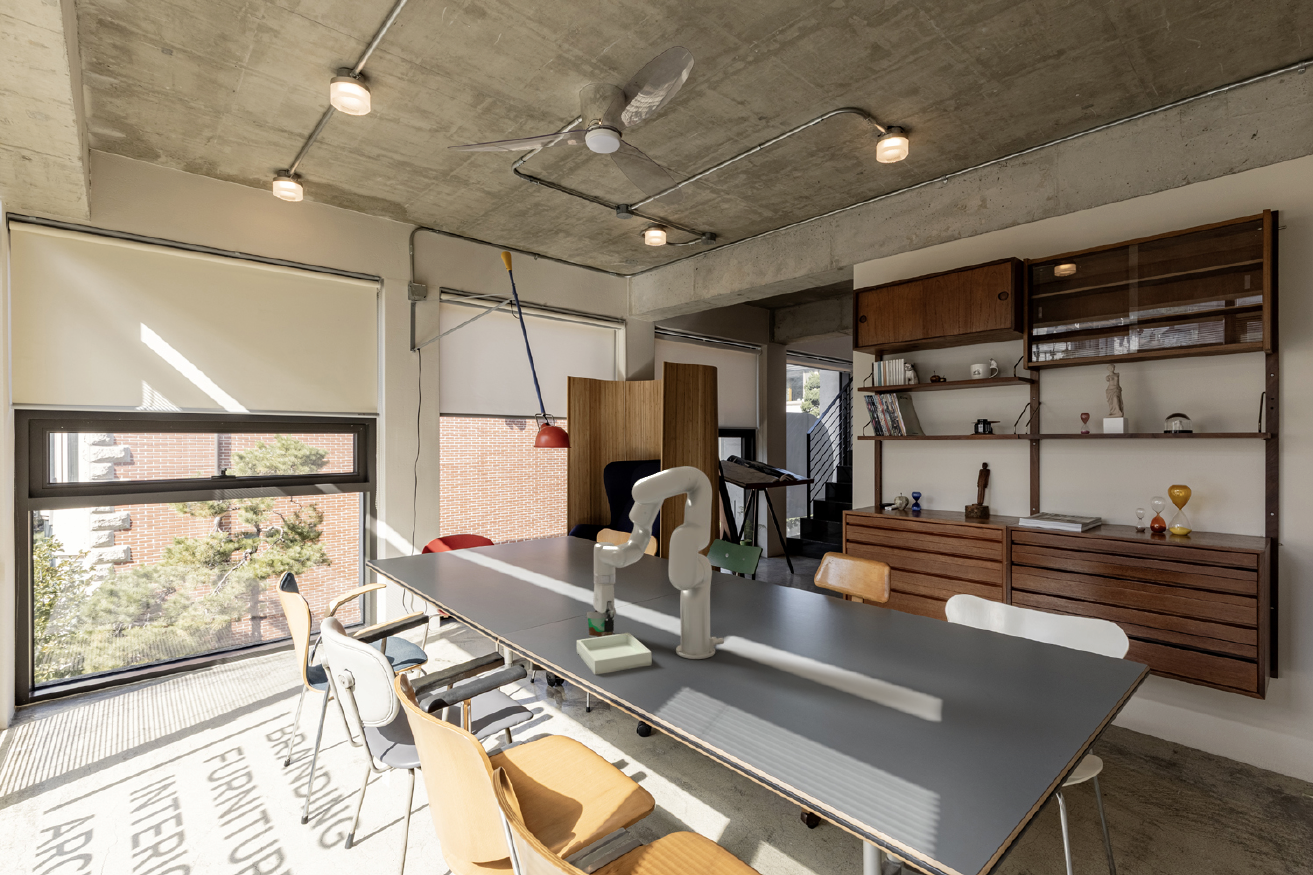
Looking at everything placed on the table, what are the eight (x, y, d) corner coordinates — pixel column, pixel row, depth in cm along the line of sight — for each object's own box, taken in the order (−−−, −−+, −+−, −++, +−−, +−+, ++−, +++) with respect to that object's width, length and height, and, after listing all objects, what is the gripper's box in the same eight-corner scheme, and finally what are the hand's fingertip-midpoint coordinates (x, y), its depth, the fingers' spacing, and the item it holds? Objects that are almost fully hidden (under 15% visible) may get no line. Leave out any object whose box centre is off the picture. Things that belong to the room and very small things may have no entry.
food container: (599, 644, 203) (599, 614, 203) (586, 640, 207) (586, 611, 207) (623, 634, 213) (623, 606, 213) (610, 631, 217) (610, 603, 217)
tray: (628, 644, 203) (628, 632, 203) (651, 664, 184) (651, 651, 184) (576, 652, 196) (576, 640, 196) (594, 674, 177) (594, 660, 177)
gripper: (587, 573, 217) (587, 621, 217) (601, 585, 201) (601, 636, 201) (607, 572, 220) (607, 619, 220) (623, 583, 204) (623, 633, 204)
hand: (604, 627), depth 210 cm, fingers open, 9 cm apart
